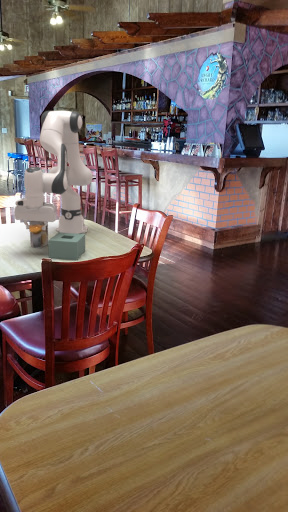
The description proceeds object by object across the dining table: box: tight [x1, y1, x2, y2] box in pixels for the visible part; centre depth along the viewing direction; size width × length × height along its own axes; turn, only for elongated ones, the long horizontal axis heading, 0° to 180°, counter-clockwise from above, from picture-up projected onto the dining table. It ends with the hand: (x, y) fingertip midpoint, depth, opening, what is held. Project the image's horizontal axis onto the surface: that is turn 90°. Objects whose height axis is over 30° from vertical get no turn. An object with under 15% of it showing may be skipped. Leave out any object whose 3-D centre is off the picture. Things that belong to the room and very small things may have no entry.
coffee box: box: [28, 221, 49, 249], centre depth 221 cm, size 9×6×16 cm
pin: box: [28, 224, 43, 249], centre depth 207 cm, size 7×7×10 cm
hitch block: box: [48, 231, 86, 261], centre depth 209 cm, size 16×14×9 cm
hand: (36, 229), depth 206 cm, fingers closed on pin, 7 cm apart
